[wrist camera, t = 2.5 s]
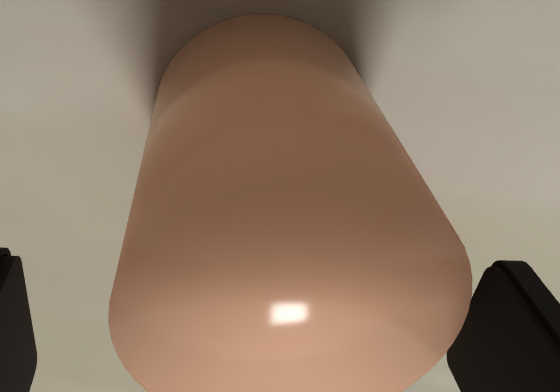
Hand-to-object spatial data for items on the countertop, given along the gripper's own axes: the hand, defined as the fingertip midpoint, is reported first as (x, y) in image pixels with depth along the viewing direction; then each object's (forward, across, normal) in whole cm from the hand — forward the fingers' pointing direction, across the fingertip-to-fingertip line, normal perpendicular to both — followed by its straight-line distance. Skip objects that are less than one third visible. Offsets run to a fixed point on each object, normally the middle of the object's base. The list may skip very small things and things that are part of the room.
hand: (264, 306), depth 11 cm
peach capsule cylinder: (+8, -1, 0) cm, 8 cm away
